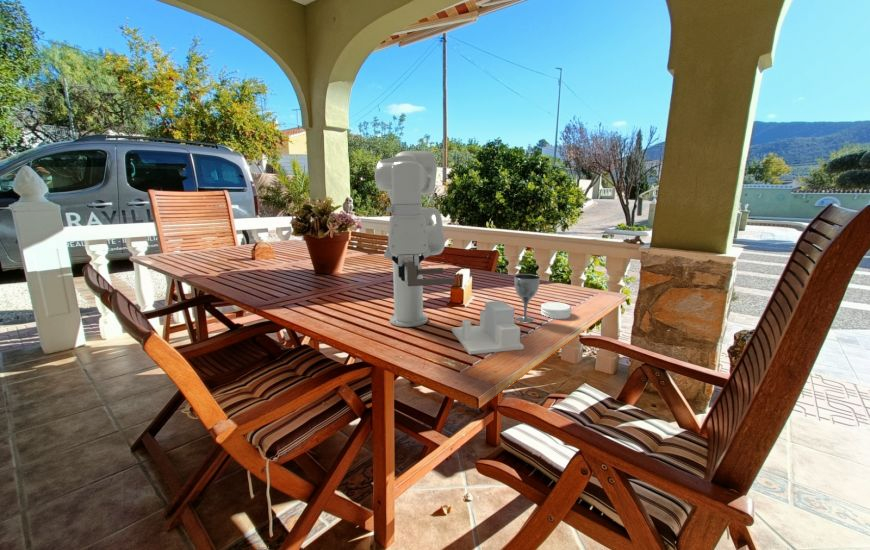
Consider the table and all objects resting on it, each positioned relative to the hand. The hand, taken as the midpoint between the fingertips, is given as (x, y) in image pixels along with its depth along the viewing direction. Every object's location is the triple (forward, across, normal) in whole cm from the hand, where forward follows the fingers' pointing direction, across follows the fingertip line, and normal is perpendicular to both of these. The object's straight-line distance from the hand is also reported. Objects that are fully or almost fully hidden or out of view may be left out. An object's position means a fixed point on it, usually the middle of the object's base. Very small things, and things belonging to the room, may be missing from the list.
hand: (408, 279), depth 104 cm
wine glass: (+19, +41, +12) cm, 47 cm away
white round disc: (+20, +54, +15) cm, 59 cm away
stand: (+19, +22, -1) cm, 29 cm away
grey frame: (0, +5, 0) cm, 5 cm away
